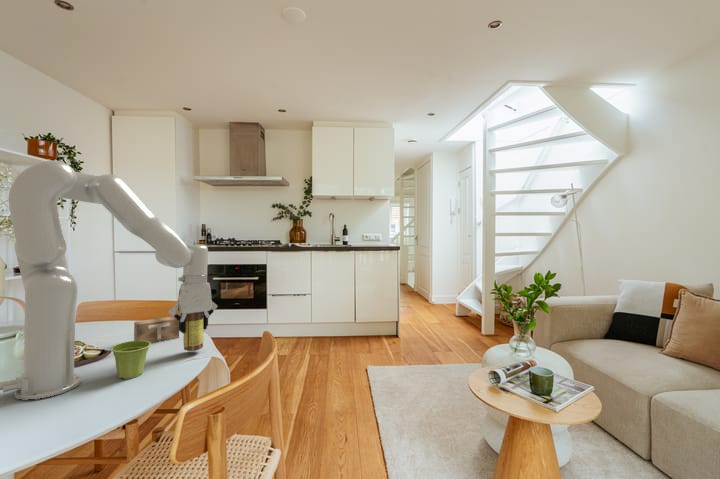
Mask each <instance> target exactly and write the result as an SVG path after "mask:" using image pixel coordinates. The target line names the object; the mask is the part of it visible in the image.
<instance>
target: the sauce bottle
mask: <svg viewBox="0 0 720 479" xmlns="http://www.w3.org/2000/svg"><path fill="white" fill-rule="evenodd" d="M203 319H204V318H203V313H202V312H199V313H192V314H187V315H186V317H185V319H184V321H185V322H186V328H185V333H183V349H184V351H187V352H196V351H199V350H201V349H203V347H204V331H205V329H204V322H203Z"/></svg>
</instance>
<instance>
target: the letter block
mask: <svg viewBox="0 0 720 479" xmlns="http://www.w3.org/2000/svg"><path fill="white" fill-rule="evenodd" d="M133 326H134V329H133V341H148V342H150V343H151V344H156V343H160V342H159V341H161V342H165V341H164V340H166V341H170V339H172V340H175V339H174V338H177V339H179V338H180V331H179V320H177V319H176V318H175V317H174V316H172V315H171V316H166V317H160V318H159V317H158V318H152V319H145V320H138V321H134V325H133ZM155 342H156V343H155Z"/></svg>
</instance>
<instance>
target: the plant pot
mask: <svg viewBox="0 0 720 479" xmlns="http://www.w3.org/2000/svg"><path fill="white" fill-rule="evenodd" d="M151 345H152V343H150V342H148V341H134V340H131V341H124V342H121V343H118V344H115V345H114V346H112V347H111V349H110V350H111V351H112V353H113V354H112V355H113V356H114V360H115V366H116V367H115V368H116V374H117V378H118V379H125V380H128V379H132V378H136V377H139V376H140V375H142V374H143V373H144V370H145V364H146V359H147V353H148V351H149V348H150V346H151Z"/></svg>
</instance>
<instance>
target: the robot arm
mask: <svg viewBox="0 0 720 479" xmlns="http://www.w3.org/2000/svg"><path fill="white" fill-rule="evenodd" d="M8 192H9V193H8V208H9V214H10V218H11V223H12V224H11V225H12V228H13V233H14V234H13V235H14V239H15V242H14V251H15V252H14V253H15V257H16V260H17V263H18V264H17V265H18V268H19V271H20V276H21V279H22V283H23V284H22V285H23V287H24V324H23V325H24V326H23V327H24V328H23V329H24V331H23V333H24V334H23V336H24V339H23V340H24V342H23V372H22V374H21V376H19V377H16V378H15V379H13V380H6V381H1V382H0V391H2V393H7V392H10V391H14V392H13V393H14V394H13V396H14V398H15V399H16V400H19V399H22V400H21V401H29V400H28V399H35V400H41V399H40V398H42V399H45V398H46V397H47V398H50V396H51V397H54V395H55V396H57V395H61V394H64V393H67V392H68V391H71V390H72V389H74V388H77V387H78V386H79V385H80V384H81V383H82V376H81V375H79V374H77V373H75V349H76V348H75V346H76V345H75V343H76V341H75V340H76V308H77V300H78V284H77V281H76V279H75V278H74V277H73V275H71V274H70V271H69V266H68V262H67V261H68V260H67V256H66V252H67V243H66V240H65V237H64V235H63V230H62V227H61V226H62V225H61V222H60V216H59V211H58V210H59V209H58V201H59V198H61V199H66V200H73V201H78V202H84V203H91V204H99V205H102V206H103V207H104V208H105V210H107V211H108V212H109V213H110V214H111V215H112V216H113V217H114V218H115V219H116V220H117V221H118V223H119V224H121V226H123V228H124V229H126V230H127V231H129V232H130V233H131V234H132V235H134V236H136V237H137V238H140V239H142V241H144V242H146V243H147V244H148V245H150V247H151V248H152V249H154V251H155V253H154V254H155V259H156V262H158V263H159V264H161V265H164V266H166V267H171V268H174V269H179V268H180V269H181V268H183V270H182V272H183V273H182V276H180V277H178V279H177V280H178V282H182V283H181V284H180V285H179V290H178V295H177V302H176V304H175V305H174V306H172V308H170V309H169V310H168V313H169V315H171V317H172V316H174V317H175V318H176V319H177V320H179V333H182V334H184V333H185V328H186V322H185V321H184V319H185V317H186V315H187V314H192V313H199V312H202V313H203V318H204V319H203V322H204V330H207V328H208V326H209V318H210V316H211V315H212V314H213V313H214V311H216V309H217V308H218V306H219V305H218V304H216V303H215V302H214V301H213V300H212V289H211V284H210V282H208V263H209V262H208V260H209V256H208V255H209V249H208V246H207V245H205V244H187V245H186V243H185V242H184V241H183V240H182V239H181V238H180V237H179V235H178V234H177V233H175V231H174V230H173V229H171V227H169V226H168V225H167V224H166V223H165V222H163V221H162V220H161V219H160V217H158V216H157V215H156V214H154V212H152V211H151V209H150V208H149V207H148V206H147V205H146V204H145V203H144V202H143V201H142V200H141V198H139V196H138V195H137V194H136V193H135V192H134V190H133V189H132V188H131V187H130V186H129V185H128V184H127V183H126V182H125V181H124V180H123V179H122V178H121V177H119V176H118V175H114V174H101V175H94V174H87V173H83V172H79V171H75V169H74V168H73V167H72V166H70V165H68V163H65V162H62V161H60V160H45V161H40V162H38V163H36V164H33V165H31V166H29V167H27V168H25V169H24V170H22V171H21V172H20V173H19V174H18V175H17V176H16V177H15V179H14V180H13V181H12V184H11V185H10V189H9V191H8ZM176 311H177V312H179V314H178V313H177V312H176ZM47 398H46V399H47Z"/></svg>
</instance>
